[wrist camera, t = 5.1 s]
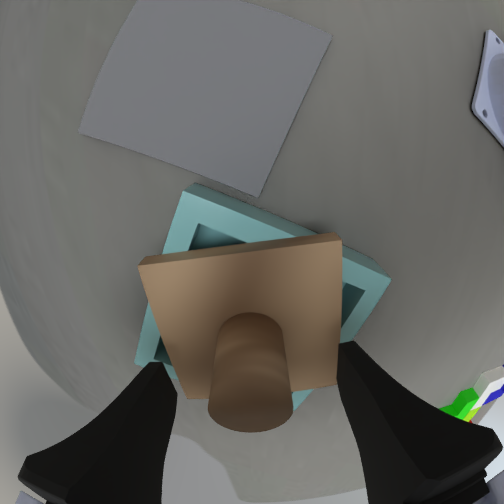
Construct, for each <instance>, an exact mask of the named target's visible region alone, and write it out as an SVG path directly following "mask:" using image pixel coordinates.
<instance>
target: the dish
mask: <svg viewBox="0 0 504 504" xmlns="http://www.w3.org/2000/svg"><path fill="white" fill-rule="evenodd" d="M316 234H318V233H315V232H313V231H311V230H309V229H306V228H304V227H302V226H300V225H297V224H295V223H293V222H290V221H288V220H286V219H283V218H281V217H279V216H276V215H274V214H272V213H269V212H267V211H265V210H262V209H260V208H257V207H255V206H253V205H250V204H248V203H245V202H243V201H240V200H238V199H236V198H233V197H231V196H228V195H226V194H223V193H221V192H218V191H216V190H213V189H210V188H208V187H205V186H203V185H200V184H198V183H194V184H192V185H191V186H189V187H188V188H186V189H185V190H184V191H183V192H182V195H181V198H180V201H179V204H178V207H177V209H176V212H175V215H174V218H173V221H172V224H171V227H170V230H169V233H168V237H167V240H166V243H165V246H164V249H163V253H162V254H168V253H175V252H183V251H190V250H198V249H205V248H213V247H221V246H228V245H236V244H244V243H252V242H259V241H267V240H275V239H283V238H291V237H299V236H308V235H316ZM391 280H392V279H391V278H390V277H389V276H388V275H387V274H386V273H385V271H384V270H383V269H382V268H381V267H380V266H379V265H378V264H377V263H376V262H375V261H374V260H373V259H372V258H370V257H367V256H365V255H363V254H361V253H359V252H357V251H355V250H353V249H350V248H348V247H346V246H344V245H342V314H341V335H340V343H344V342H349V341H351V340H352V339H353V338H354V336H355V335H356V334H357V332H358V331H359V329H360V328H361V326H362V325H363V323H364V322H365V321H366V319H367V318H368V316H369V315H370V313H371V312H372V310H373V309H374V307H375V306H376V304H377V302H378V301H379V299H380V298H381V296H382V295H383V293H384V291H385V290H386V288H387V287H388V285H389V283H390V282H391ZM149 362H163V364H164V366H165V368H166V371H167V373H168V375H169V377H170V378H173V379H176V380H179V379H178V377H177V375H176V372H175V370H174V368H173V365H172V363H171V360H170V358H169V356H168V353H167V351H166V348H165V345H164V343H163V340H162V338H161V335H160V332H159V330H158V327H157V324H156V322H155V319H154V316H153V313H152V310H151V307H150V304H149V302H148V306H147V310H146V314H145V318H144V322H143V326H142V330H141V334H140V339H139V343H138V348H137V352H136V357H135V362H134V364H137V365H139V366H142V367H145V366H146V365H147V364H148V363H149ZM312 390H313V389H309V390H302V391H295V392H291V393H292V400H293V407H294V408H293V411H295V410H296V409H297V407H298V406H299V405H300V404H301V403H302V402H303V401H304V400H305V398H306V397H307V396H308V395H309V394H310V393H311V391H312Z"/></svg>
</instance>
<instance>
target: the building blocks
mask: <svg viewBox="0 0 504 504" xmlns="http://www.w3.org/2000/svg"><path fill="white" fill-rule="evenodd" d="M503 393H504V365H502V366H499V367H497V368H494V369H491V370H489V371H486V372H483V373H482V374H481V375H480V377H479V379H478V380H477V382H476V383H475V385H474V386H473V388H470V389H467V390H464V391H461V392H460V393H459V395H458V396H457V398H456V399H455V401H454V402H453V404H452V405H449V406H446V407H443V408H439V409H440V410H442V411H444V412H446V413H448V414H450V415H452V416H454V417H456V418H459V419H462V420H464V421H467V422H470V423H472V421H471V419H472V417H473V416H474V415H475V414H476V412H477V411H478V410H479V409H480V407H481V406H482V405H484V404H486V403H488V402H490V401H492V400H495V399H497V398H498V397H500V396H502V394H503Z"/></svg>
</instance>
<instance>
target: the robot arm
mask: <svg viewBox="0 0 504 504" xmlns="http://www.w3.org/2000/svg"><path fill="white" fill-rule="evenodd" d="M472 110H473V113H474V114H475V115H476V116H477V117H478V118H479V119H480V121H481V122H482V123H483V124H484V125H485V126H486V127H487V128H488V129H489V130H490V132H491V133H492V134H493V135H494V136H495V137H496V139H497V140H498V141H499V142H500V143H501V145H502V146H503V147H504V43H503V42H502V41H501V40H500V39H499V37H498V36H497V35H496V34H495V33H494V32H493V31H492V30H488V31H486V36H485V43H484V50H483V56H482V62H481V67H480V72H479V77H478V82H477V86H476V90H475V94H474V98H473V102H472ZM483 114H484V116H483ZM336 379H337V384H338V388H339V392H340V397H341V400H342V403H343V406H344V409H345V412H346V414H347V417H348V420H349V422H350V425H351V428H352V431H353V434H354V436H355V439H356V442H357V445H358V449H359V452H360V457H361V462H362V466H363V472H364V477H365V483H366V489H367V496H368V502H369V504H504V470H503V471H502V472H500V473H499V474H497V475H496V476H495V477H494V478H492V479H491V480H489V481H488V482H487V483H486V482H485V480H484V478H485V477H486V476H487V473H486V471H485V469H484V468H486V467H487V466H488V464H490V463H491V462H492V461H493V460H494V459H495V458H496V457H497V456H498V455H499V454H500V452H501V451H502V448H503V446H502V444H501V442H500V440H499V438H498V436H497V435H496V433H495V432H494V430H493V429H491V428H487V427H484V426H480V425H476V424H473V423H470V422H467V421H464V420H462V419H459V418H456V417H454V416H452V415H450V414H448V413H446V412H444V411H442V410H440V409H438V408H436V407H434V406H432V405H430V404H428V403H427V402H425V401H423V400H422V399H420V398H419V397H417V396H416V395H414V394H413V393H411V392H410V391H409V390H407V389H406V388H405V387H403V386H402V385H401V384H400V383H398V382H397V381H396V380H395V379H393V378H392V377H391V376H390V375H389V374H388V373H387V372H385V371H384V370H383V369H382V368H381V367H380V366H379V365H378V364H377V363H376V362H375V361H374V360H373V359H372V358H371V357H370V356H369V355H368V354H367V353H366V352H365V351H364V350H363V349H362V348H361V347H360V346H359V345H358V344H357V343H356V342H355V341H349V342H344V343H339V344H338V361H337V375H336ZM176 405H177V392H176V390H175V388H174V385H173V383H172V381H171V379H170V377H169V375H168V373H167V371H166V368H165V366H164V364H163V362H149V363H148V364H147V365H146V366H145V367H144V368H143V369H142V370H141V371H140V373H139V374H138V375H137V376H136V377H135V378H134V379H133V380H132V382H131V383H130V384H129V385H128V386H127V387H126V388H125V389H124V390H123V391H122V392H121V394H120V395H119V396H118V397H117V398H116V399H115V400H114V401H113V402H112V403H111V404H110V405H109V406H108V407H107V408H106V409H105V410H104V411H102V412H101V413H100V414H99V415H98V416H97V417H96V418H95V419H93V420H92V421H91V422H89V423H88V424H87V425H86V426H84V427H83V428H81V429H80V430H79V431H77V432H76V433H74V434H73V435H71V436H70V437H68V438H66V439H65V440H63V441H61V442H59V443H57V444H55V445H54V446H51V447H49V448H47V449H45V450H42V451H40V452H37V453H34V454H32V455H29V456H27V457H26V459H25V461H24V463H23V466H22V468H21V470H20V472H19V475H18V479H19V480H20V481H21V482H22V483H23V484H24V485H26V486H27V487H28V488H30V489H31V490H32V491H34V492H35V493H37V494H38V495H39V496H41V497H42V498H44V499H45V500H47V501H46V504H161V496H162V479H163V468H164V461H165V455H166V452H167V447H168V443H169V439H170V435H171V431H172V427H173V423H174V419H175V414H176ZM16 504H43V503H42V502H40V501H38V500H37V499H35V498H33V497H31V496H30V495H28V494H26V493H25V492H23V491H20V494H19V496H18V498H17V501H16Z"/></svg>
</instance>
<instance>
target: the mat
mask: <svg viewBox="0 0 504 504" xmlns="http://www.w3.org/2000/svg"><path fill="white" fill-rule="evenodd" d="M332 37H333V35H331V34H329V33H327V32H325V31H322V30H320V29H318V28H316V27H314V26H311V25H309V24H307V23H304V22H302V21H300V20H297V19H295V18H292V17H290V16H287V15H284V14H282V13H279V12H276V11H273V10H270V9H267V8H264V7H261V6H258V5H255V4H251V3H248V2H244V1H241V0H137V2H136V3H135V5H134V7H133V8H132V10H131V12H130V13H129V15H128V17H127V18H126V20H125V22H124V24H123V25H122V27H121V29H120V31H119V33H118V35H117V37H116V39H115V40H114V42H113V44H112V46H111V48H110V50H109V53H108V55H107V57H106V59H105V61H104V63H103V65H102V68H101V70H100V72H99V75H98V77H97V79H96V82H95V84H94V87H93V89H92V92H91V95H90V97H89V100H88V103H87V105H86V108H85V111H84V114H83V117H82V120H81V123H80V126H79V130H78V133H80V134H84V135H87V136H90V137H93V138H97V139H100V140H103V141H106V142H109V143H112V144H115V145H118V146H121V147H124V148H127V149H130V150H133V151H136V152H139V153H142V154H145V155H148V156H151V157H153V158H156V159H159V160H162V161H165V162H167V163H170V164H173V165H176V166H178V167H181V168H184V169H186V170H189V171H192V172H194V173H197V174H200V175H202V176H205V177H207V178H210V179H213V180H215V181H218V182H220V183H223V184H225V185H228V186H230V187H233V188H235V189H238V190H240V191H243V192H245V193H247V194H250V195H252V196H255V197H257V198H259V195H260V193H261V191H262V189H263V186H264V184H265V182H266V180H267V177H268V175H269V173H270V171H271V168H272V166H273V164H274V162H275V159H276V157H277V155H278V153H279V151H280V148H281V146H282V144H283V142H284V140H285V137H286V135H287V133H288V131H289V129H290V126H291V124H292V122H293V120H294V118H295V115H296V113H297V111H298V109H299V107H300V105H301V102H302V100H303V98H304V96H305V94H306V92H307V90H308V87H309V85H310V83H311V81H312V79H313V77H314V75H315V72H316V70H317V68H318V66H319V64H320V62H321V60H322V58H323V56H324V53H325V51H326V49H327V47H328V45H329V43H330V41H331V39H332Z"/></svg>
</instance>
